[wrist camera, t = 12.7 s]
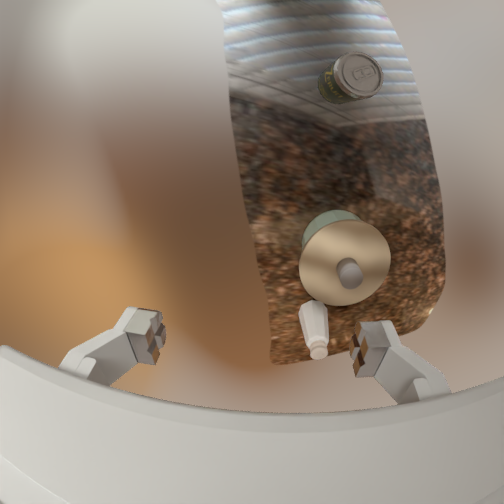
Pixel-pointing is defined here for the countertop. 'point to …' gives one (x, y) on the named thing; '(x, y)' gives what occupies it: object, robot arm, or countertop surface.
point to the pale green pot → (326, 222)
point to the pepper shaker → (315, 328)
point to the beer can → (351, 78)
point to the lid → (344, 262)
